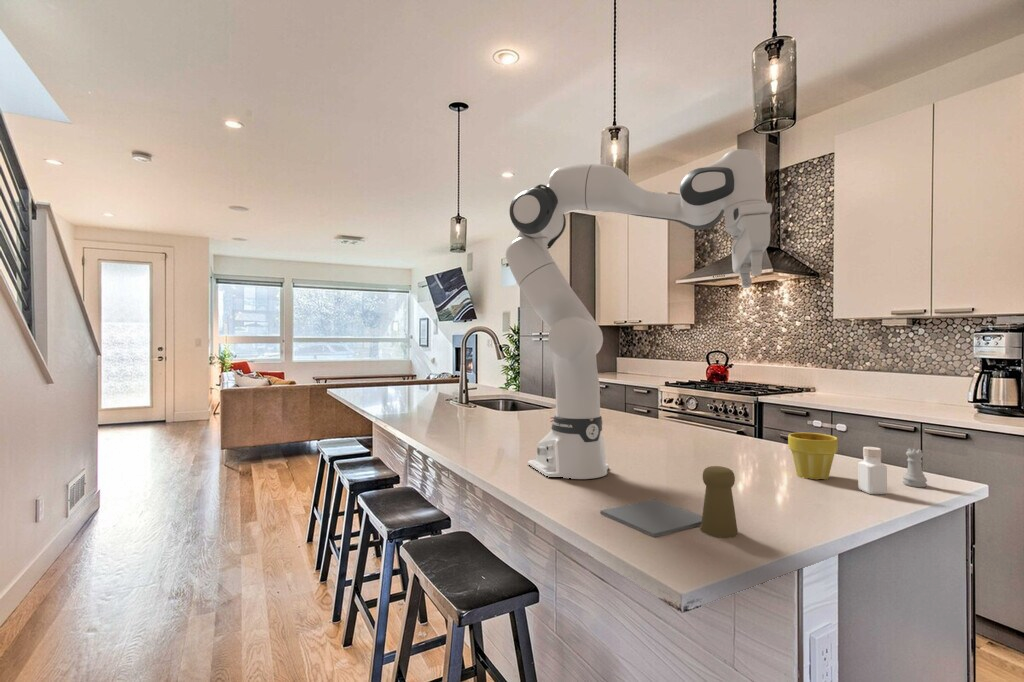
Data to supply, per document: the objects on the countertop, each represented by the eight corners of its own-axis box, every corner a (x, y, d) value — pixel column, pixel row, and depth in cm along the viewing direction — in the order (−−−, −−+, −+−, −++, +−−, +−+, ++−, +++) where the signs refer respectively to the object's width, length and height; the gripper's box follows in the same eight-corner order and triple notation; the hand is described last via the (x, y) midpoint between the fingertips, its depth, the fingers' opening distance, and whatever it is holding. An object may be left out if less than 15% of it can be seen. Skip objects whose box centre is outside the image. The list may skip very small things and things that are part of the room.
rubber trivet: (600, 513, 98) (600, 510, 98) (654, 501, 105) (654, 498, 105) (654, 537, 86) (654, 533, 86) (711, 522, 93) (711, 519, 93)
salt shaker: (888, 494, 109) (888, 449, 109) (869, 495, 109) (869, 450, 109) (875, 489, 113) (874, 446, 113) (857, 489, 113) (856, 446, 113)
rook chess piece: (900, 485, 116) (899, 449, 116) (905, 481, 119) (904, 446, 119) (925, 489, 113) (925, 452, 113) (929, 485, 116) (929, 449, 116)
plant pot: (838, 484, 117) (838, 441, 117) (787, 478, 122) (786, 437, 122) (837, 474, 126) (837, 434, 126) (789, 469, 131) (789, 431, 131)
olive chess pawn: (694, 525, 92) (694, 463, 92) (727, 524, 92) (726, 462, 92) (709, 538, 86) (709, 472, 86) (745, 537, 86) (744, 471, 86)
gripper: (723, 238, 125) (727, 294, 123) (740, 203, 105) (745, 268, 103) (751, 236, 124) (756, 292, 121) (774, 200, 104) (780, 266, 102)
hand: (751, 281), depth 112 cm, fingers open, 8 cm apart
